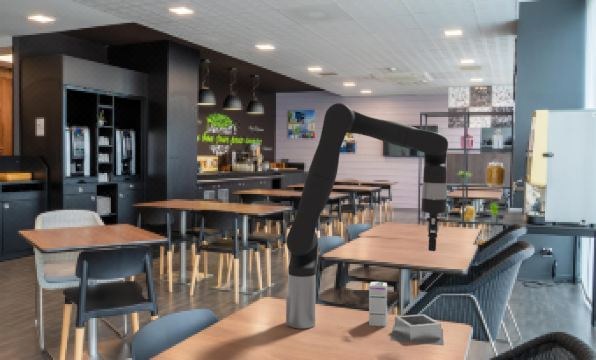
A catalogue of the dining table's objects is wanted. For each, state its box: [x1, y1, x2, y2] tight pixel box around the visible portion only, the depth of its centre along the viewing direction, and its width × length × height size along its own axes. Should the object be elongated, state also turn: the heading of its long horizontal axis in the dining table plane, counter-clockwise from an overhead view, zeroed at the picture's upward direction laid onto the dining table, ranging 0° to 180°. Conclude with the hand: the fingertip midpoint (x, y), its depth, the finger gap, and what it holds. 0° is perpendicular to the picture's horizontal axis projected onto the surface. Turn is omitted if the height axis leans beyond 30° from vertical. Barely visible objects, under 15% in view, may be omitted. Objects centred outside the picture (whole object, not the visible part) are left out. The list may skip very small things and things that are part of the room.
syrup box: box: [368, 281, 388, 327], centre depth 175 cm, size 6×6×14 cm
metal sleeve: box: [394, 313, 442, 341], centre depth 164 cm, size 10×10×4 cm
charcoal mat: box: [389, 324, 445, 346], centre depth 165 cm, size 16×16×1 cm
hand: (432, 248), depth 166 cm, fingers open, 8 cm apart
